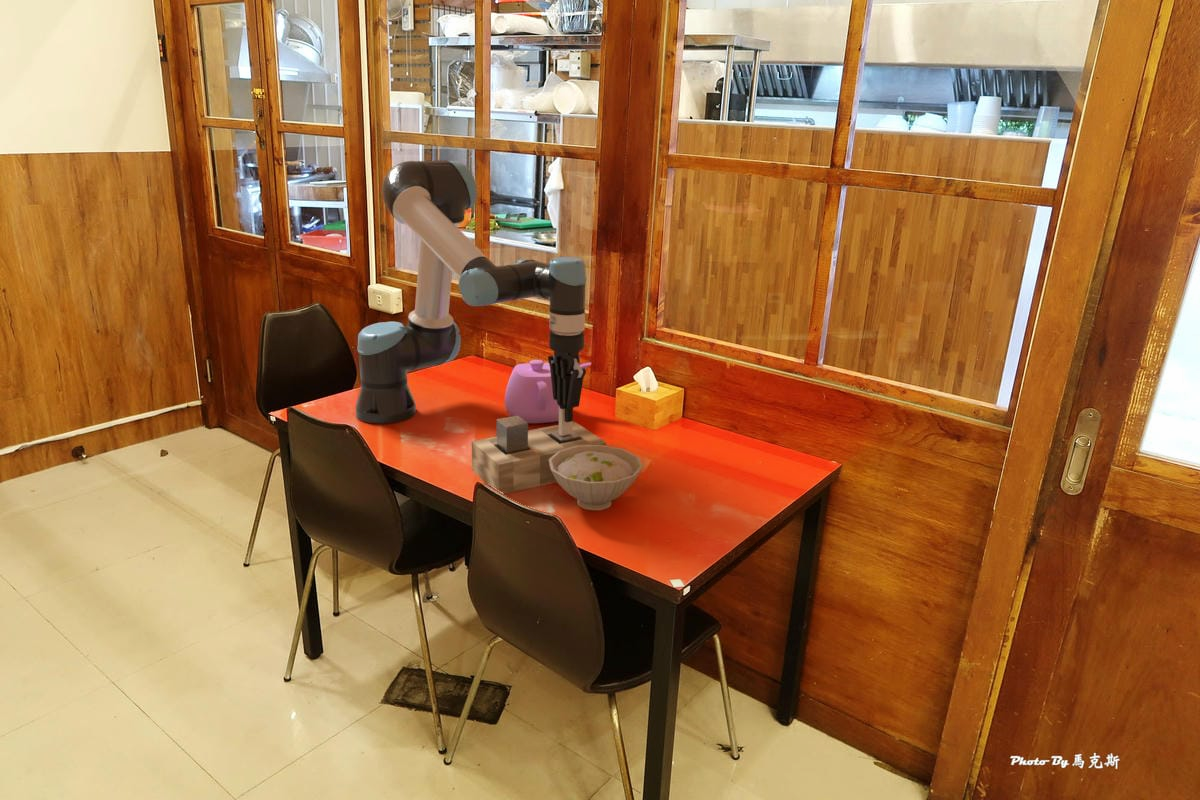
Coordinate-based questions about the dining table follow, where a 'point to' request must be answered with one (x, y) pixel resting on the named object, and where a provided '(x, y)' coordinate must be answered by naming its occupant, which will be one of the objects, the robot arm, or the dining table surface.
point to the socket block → (524, 459)
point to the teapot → (532, 393)
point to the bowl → (595, 473)
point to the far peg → (564, 437)
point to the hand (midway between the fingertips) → (565, 433)
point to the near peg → (512, 435)
